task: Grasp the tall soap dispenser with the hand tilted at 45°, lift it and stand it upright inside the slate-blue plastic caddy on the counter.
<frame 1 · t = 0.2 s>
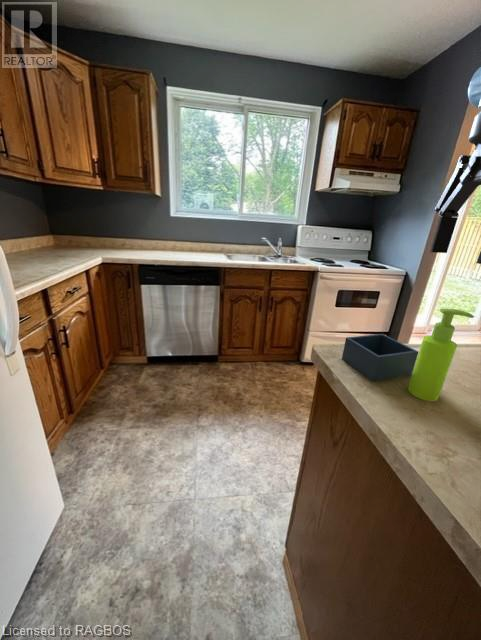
hand: (459, 257, 47), 31 cm above the countertop, tool pointing down, fingers open, 13 cm apart
soap dispenser: (425, 394, 62), on the countertop
caddy: (375, 366, 72), on the countertop
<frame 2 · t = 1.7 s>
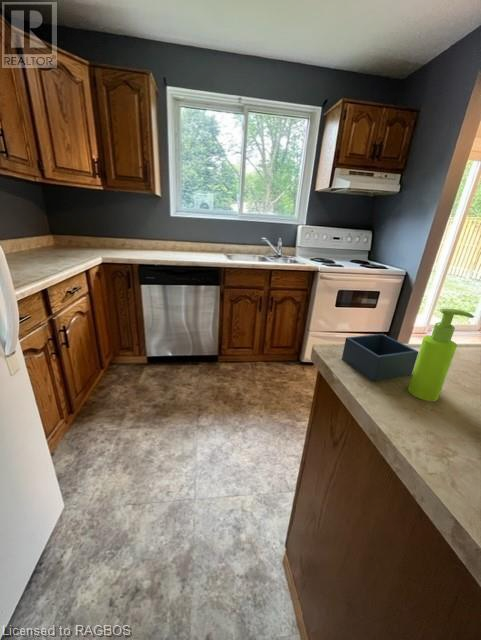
nothing on the countertop moved.
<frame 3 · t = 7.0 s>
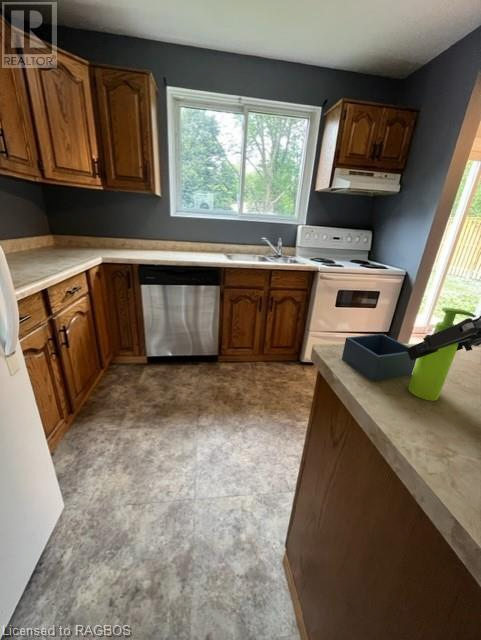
hand: (421, 353, 62), 8 cm above the countertop, tool tilted 45°, fingers closed on soap dispenser, 6 cm apart
soap dispenser: (425, 394, 62), on the countertop, touching gripper
when the fingers open (9 cm above the countertop, at t = 15.3 s): soap dispenser stays where it is, resting on caddy.
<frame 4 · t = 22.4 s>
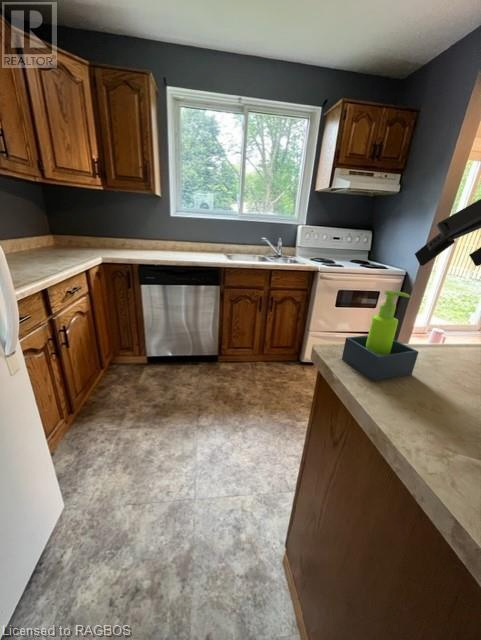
hand: (447, 260, 52), 30 cm above the countertop, tool tilted 45°, fingers open, 13 cm apart
soap dispenser: (375, 365, 72), resting on caddy
at the end: soap dispenser 0.1 cm off-centre in the caddy, point 0.4 cm above the caddy's base; soap dispenser tilted 0°; the gripper is holding nothing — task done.
